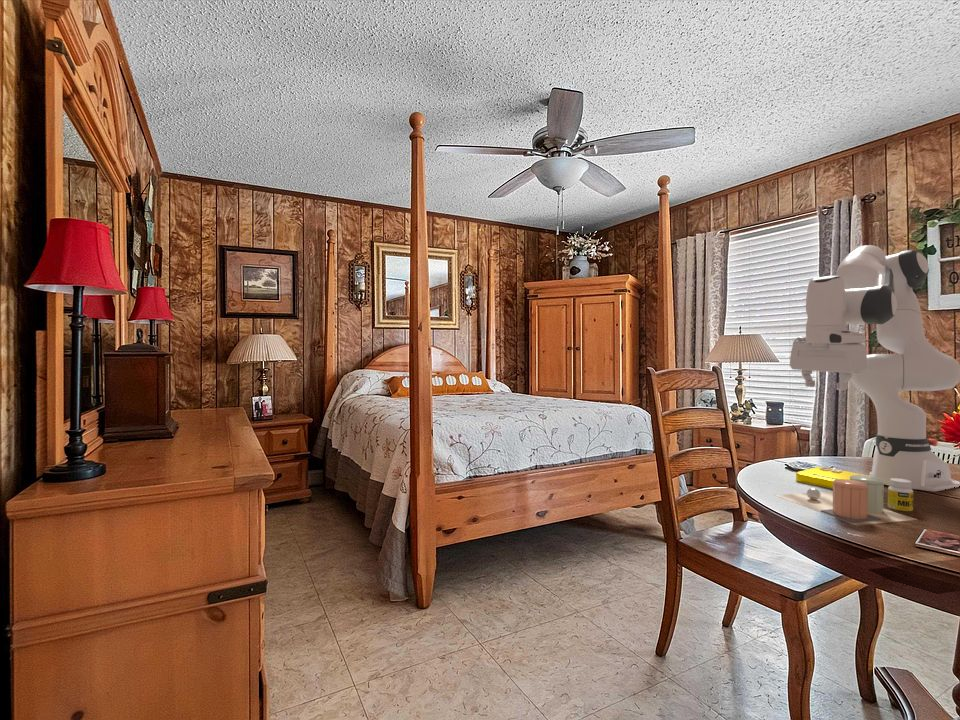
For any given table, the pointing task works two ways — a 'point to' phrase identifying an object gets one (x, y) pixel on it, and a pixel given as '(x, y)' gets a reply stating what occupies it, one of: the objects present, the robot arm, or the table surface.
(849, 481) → the terracotta cup
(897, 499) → the supplement bottle
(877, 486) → the sage cup
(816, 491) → the steel marble
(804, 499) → the birch board
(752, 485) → the table surface
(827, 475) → the element tile
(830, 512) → the charcoal mat
